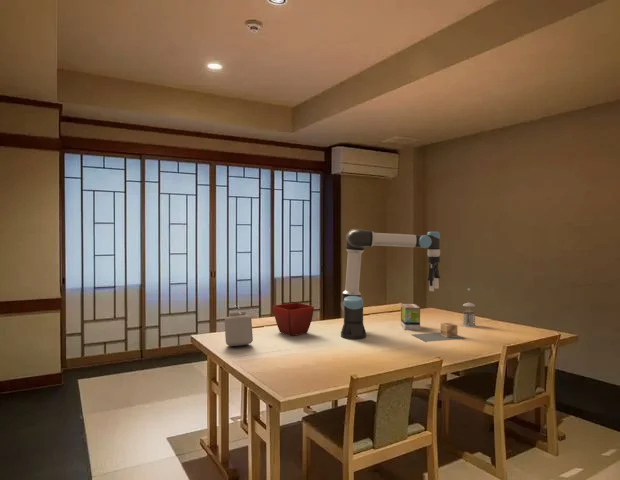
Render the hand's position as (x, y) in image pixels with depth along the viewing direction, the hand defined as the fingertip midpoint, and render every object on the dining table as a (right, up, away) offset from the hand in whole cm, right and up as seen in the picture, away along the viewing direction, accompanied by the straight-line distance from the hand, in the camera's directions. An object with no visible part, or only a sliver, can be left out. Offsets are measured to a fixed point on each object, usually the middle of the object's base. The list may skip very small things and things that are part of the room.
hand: (434, 289), depth 284 cm
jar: (-118, -27, -35) cm, 126 cm away
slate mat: (-2, -26, -17) cm, 31 cm away
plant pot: (-89, -27, -5) cm, 93 cm away
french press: (+27, -26, +15) cm, 40 cm away
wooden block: (+5, -26, -15) cm, 30 cm away
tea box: (-13, -26, +10) cm, 31 cm away
